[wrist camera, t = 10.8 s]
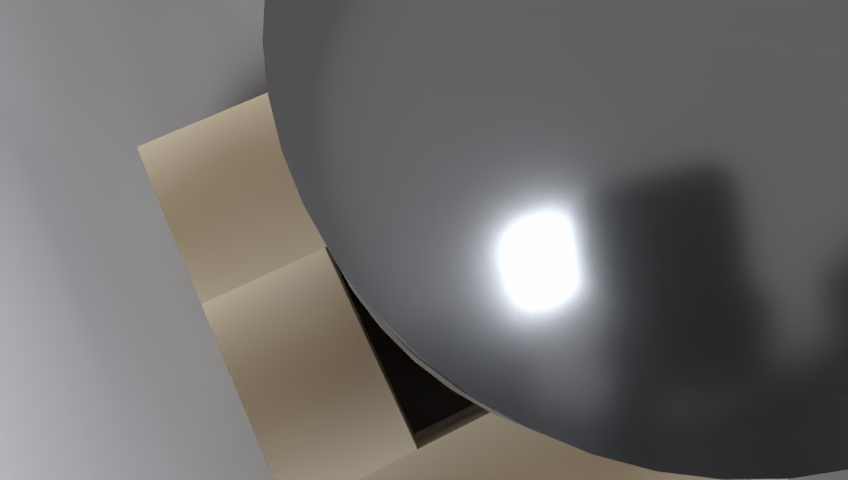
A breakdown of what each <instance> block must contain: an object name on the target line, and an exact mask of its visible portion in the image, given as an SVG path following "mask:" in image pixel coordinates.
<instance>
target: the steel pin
mask: <svg viewBox="0 0 848 480" xmlns="http://www.w3.org/2000/svg"><path fill="white" fill-rule="evenodd" d="M263 48H264V58H265V68H266V79H267V89H268V97H269V101H270V105H271V109H272V113H273V117H274V121H275V126H276V130H277V134H278V138H279V142H280V146H281V150H282V153H283V155H284V158H285V160H286V163H287V165H288V168H289V170H290V173H291V175H292V178H293V180H294V183H295V185H296V188H297V190H298V193H299V195H300V198H301V200H302V203H303V205H304V207H305V209H306V210H307V212H308V214H309V216H310V217H311V219H312V221H313V223H314V224H315V226H316V228H317V230H318V231H319V233H320V235H321V237H322V239H323V240H324V242H325V244H326V246H327V247H328V249H329V251H330V253H331V254H332V256H333V258H334V260H335V261H336V263H337V265H338V267H339V268H340V270H341V272H342V273H343V275H344V277H345V279H346V280H347V282H348V284H349V286H350V287H351V289H352V291H353V292H354V293H355V295H356V296H357V297H358V299H359V300H360V301H361V303H362V304H363V305H364V307H365V308H366V309H367V310H368V312H369V313H370V314H371V316H372V317H373V318H374V320H375V321H376V322H377V324H378V325H379V326H380V327H381V328H382V329H383V330H384V331H385V333H386V334H387V335H388V336H389V337H390V338H391V339H392V340H393V341H394V342H395V343H396V344H397V345H398V346H399V347H400V348H401V349H402V350H403V351H404V352H405V353H406V354H407V355H408V356H409V357H410V358H411V359H412V360H413V361H415V362H416V363H417V364H419V365H420V366H421V367H422V368H424V369H425V370H426V371H428V372H429V373H430V374H432V375H433V376H434V377H435V378H437V379H438V380H439V381H441V382H442V383H443V384H445V385H446V386H447V387H448V388H450V389H451V390H453V391H454V392H456V393H458V394H460V395H461V396H463V397H465V398H466V399H468V400H470V401H472V402H473V403H475V404H477V405H479V406H480V407H482V408H484V409H485V410H487V411H489V412H491V413H492V414H495V415H497V416H499V417H502V418H504V419H507V420H509V421H511V422H514V423H516V424H519V425H521V426H524V427H526V428H528V429H531V430H533V431H536V432H538V433H540V434H543V435H545V436H548V437H550V438H553V439H555V440H558V441H560V442H563V443H565V444H568V445H570V446H573V447H575V448H578V449H580V450H583V451H585V452H588V453H590V454H593V455H597V456H601V457H604V458H608V459H612V460H616V461H619V462H623V463H627V464H631V465H635V466H638V467H642V468H646V469H650V470H653V471H658V472H666V473H674V474H682V475H690V476H698V477H706V478H714V479H722V480H734V479H790V478H796V477H802V476H809V475H815V474H821V473H827V472H834V471H840V470H846V469H848V0H265V7H264V27H263Z"/></svg>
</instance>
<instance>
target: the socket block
mask: <svg viewBox="0 0 848 480" xmlns="http://www.w3.org/2000/svg"><path fill="white" fill-rule="evenodd" d="M137 149H138V151H139V154H140V156H141V159H142V161H143V163H144V166H145V168H146V171H147V173H148V176H149V178H150V180H151V183H152V185H153V188H154V190H155V193H156V195H157V197H158V200H159V202H160V205H161V207H162V210H163V212H164V214H165V217H166V219H167V222H168V224H169V227H170V229H171V231H172V234H173V236H174V239H175V241H176V244H177V246H178V248H179V251H180V253H181V256H182V258H183V260H184V263H185V265H186V268H187V270H188V273H189V275H190V277H191V280H192V282H193V285H194V287H195V290H196V292H197V294H198V297H199V299H200V302H201V304H202V307H203V309H204V311H205V314H206V316H207V319H208V321H209V324H210V326H211V328H212V331H213V333H214V336H215V338H216V341H217V343H218V345H219V348H220V350H221V353H222V355H223V358H224V360H225V362H226V365H227V367H228V370H229V372H230V375H231V377H232V379H233V382H234V384H235V387H236V389H237V392H238V394H239V396H240V399H241V401H242V404H243V406H244V408H245V411H246V413H247V416H248V418H249V421H250V423H251V425H252V428H253V430H254V433H255V435H256V438H257V440H258V442H259V445H260V447H261V450H262V452H263V455H264V457H265V459H266V462H267V464H268V467H269V469H270V472H271V474H272V476H273V479H274V480H722V479H714V478H706V477H698V476H690V475H682V474H674V473H666V472H658V471H653V470H650V469H646V468H642V467H638V466H635V465H631V464H627V463H623V462H619V461H616V460H612V459H608V458H604V457H601V456H597V455H593V454H590V453H588V452H585V451H583V450H580V449H578V448H575V447H573V446H570V445H568V444H565V443H563V442H560V441H558V440H555V439H553V438H550V437H548V436H545V435H543V434H540V433H538V432H536V431H533V430H531V429H528V428H526V427H524V426H521V425H519V424H516V423H514V422H511V421H509V420H507V419H504V418H502V417H499V416H497V415H495V414H492V413H491V412H489V411H487V410H485V409H484V408H482V407H480V406H479V405H477V404H473V405H471V406H469V407H467V408H465V409H463V410H461V411H459V412H457V413H455V414H453V415H451V416H449V417H447V418H445V419H443V420H441V421H439V422H437V423H435V424H433V425H431V426H429V427H427V428H425V429H423V430H421V431H419V432H417V433H415V434H414V432H413V430H412V428H411V426H410V424H409V422H408V419H407V417H406V415H405V413H404V411H403V409H402V406H401V404H400V402H399V400H398V398H397V395H396V393H395V391H394V389H393V387H392V385H391V382H390V380H389V378H388V376H387V374H386V372H385V369H384V367H383V365H382V363H381V361H380V359H379V356H378V354H377V352H376V350H375V348H374V345H373V343H372V341H371V339H370V337H369V335H368V332H367V330H366V328H365V326H364V324H363V322H362V319H361V317H360V315H359V313H358V311H357V309H356V306H355V304H354V302H353V300H352V298H351V296H350V293H349V291H348V289H347V287H346V285H345V282H344V280H343V278H342V276H341V274H343V273H342V272H341V270H340V268H339V267H338V265H337V263H336V261H335V260H334V258H333V256H332V254H331V253H330V251H329V249H328V247H327V246H326V244H325V242H324V240H323V239H322V237H321V235H320V233H319V231H318V230H317V228H316V226H315V224H314V223H313V221H312V219H311V217H310V216H309V214H308V212H307V210H306V209H305V207H304V205H303V203H302V200H301V198H300V195H299V193H298V190H297V188H296V185H295V183H294V180H293V178H292V175H291V173H290V170H289V168H288V165H287V163H286V160H285V158H284V155H283V153H282V150H281V146H280V142H279V138H278V134H277V130H276V126H275V121H274V117H273V113H272V109H271V105H270V101H269V97H268V92H267V93H265V94H263V95H260V96H258V97H255V98H253V99H251V100H248V101H246V102H243V103H241V104H239V105H236V106H234V107H231V108H229V109H227V110H224V111H222V112H220V113H217V114H215V115H212V116H210V117H208V118H205V119H203V120H200V121H198V122H196V123H193V124H191V125H188V126H186V127H184V128H181V129H179V130H177V131H174V132H172V133H169V134H167V135H165V136H162V137H160V138H157V139H155V140H153V141H150V142H148V143H145V144H143V145H141V146H138V147H137ZM734 480H788V479H734Z"/></svg>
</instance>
